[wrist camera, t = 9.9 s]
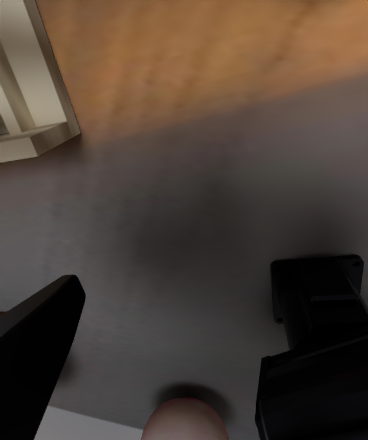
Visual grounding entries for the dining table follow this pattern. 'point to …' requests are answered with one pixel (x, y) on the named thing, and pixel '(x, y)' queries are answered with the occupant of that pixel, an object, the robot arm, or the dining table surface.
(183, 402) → the decorative fruit
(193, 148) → the dining table surface
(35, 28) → the roll cradle
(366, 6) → the dining table surface
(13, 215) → the dining table surface
